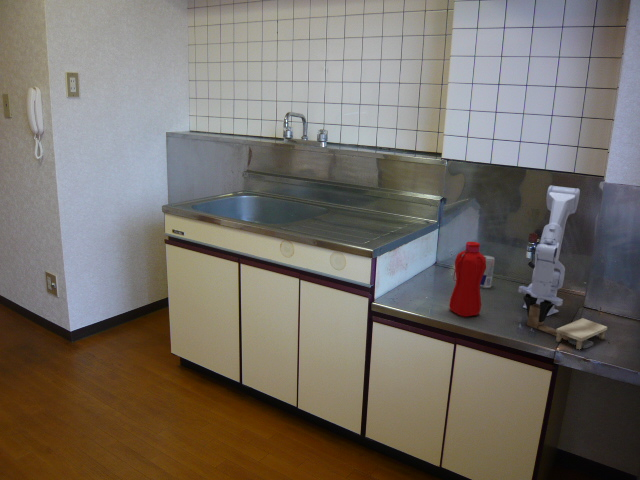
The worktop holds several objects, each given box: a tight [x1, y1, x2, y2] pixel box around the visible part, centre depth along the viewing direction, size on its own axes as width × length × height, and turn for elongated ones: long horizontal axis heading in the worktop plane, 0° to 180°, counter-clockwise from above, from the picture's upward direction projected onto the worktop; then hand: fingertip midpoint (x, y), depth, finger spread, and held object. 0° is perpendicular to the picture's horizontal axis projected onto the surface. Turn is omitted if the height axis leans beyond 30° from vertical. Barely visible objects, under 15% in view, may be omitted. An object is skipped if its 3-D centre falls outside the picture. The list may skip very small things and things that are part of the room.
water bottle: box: [448, 241, 486, 318], centre depth 185 cm, size 9×11×25 cm
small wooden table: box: [555, 317, 608, 351], centre depth 171 cm, size 8×16×4 cm, turn 128°
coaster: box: [568, 338, 594, 349], centre depth 168 cm, size 5×5×1 cm
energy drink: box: [480, 254, 496, 289], centre depth 214 cm, size 5×5×12 cm
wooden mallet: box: [526, 303, 572, 342], centre depth 175 cm, size 15×4×7 cm, turn 37°
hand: (535, 319), depth 179 cm, fingers closed on wooden mallet, 3 cm apart
